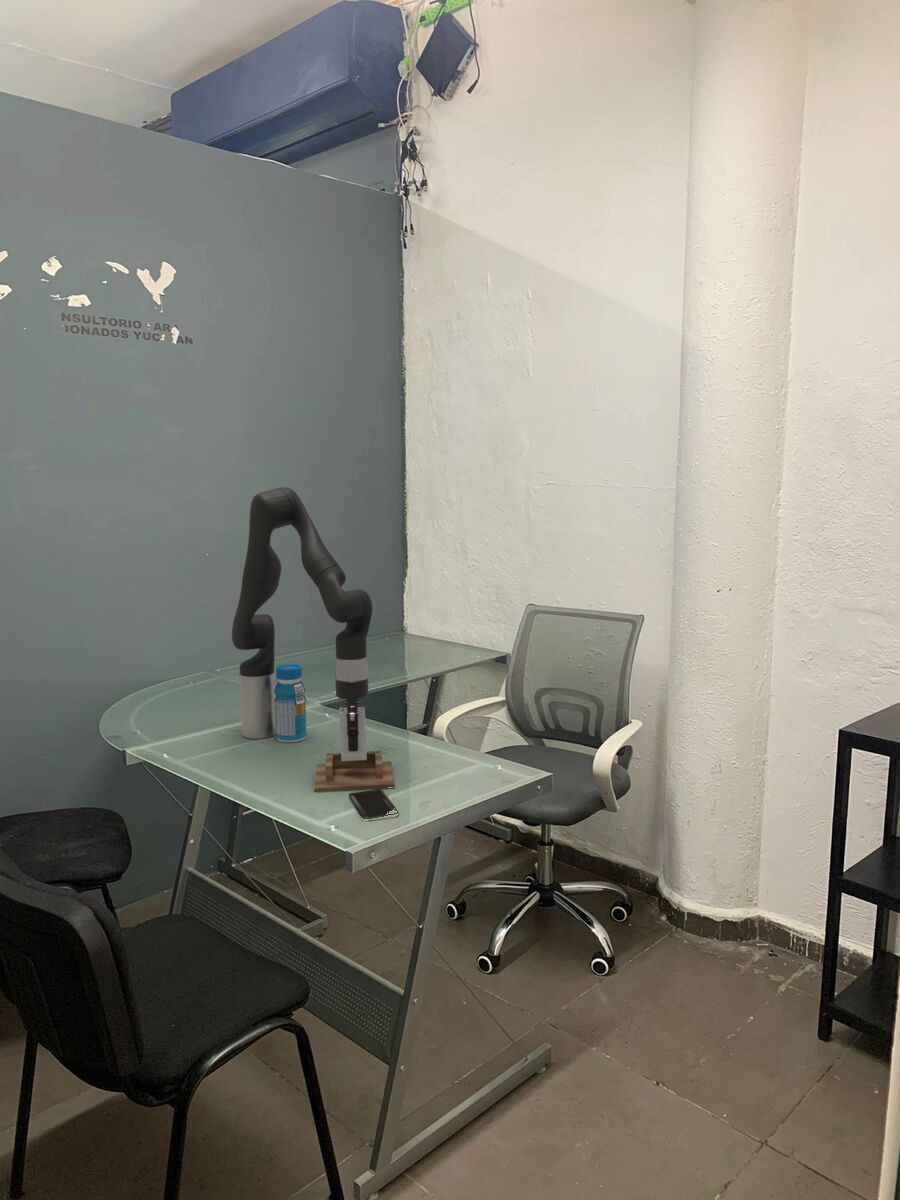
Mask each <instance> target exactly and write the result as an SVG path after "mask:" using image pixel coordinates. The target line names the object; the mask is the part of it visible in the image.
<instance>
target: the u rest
mask: <svg viewBox="0 0 900 1200" xmlns="http://www.w3.org/2000/svg"><path fill="white" fill-rule="evenodd" d="M325 759H326V760H325V763H320V764H319V763H318V764H316V772H315V778H314V787H313V788H314V789H313V791H314V793H321V792H323V793H326V792H345V791H349V792H350V791H368V790H367V789H371V790H380V789H379V788H388V787H394V788H395V781H394V779H395V778H394V771H393V764H392V761H391V760H389V761H387V760H386V761H383V757H382V750H376V751H375V750H374V751H367V760H359V761H341V752H329V753H328V752H326V758H325Z"/></svg>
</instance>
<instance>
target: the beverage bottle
mask: <svg viewBox="0 0 900 1200" xmlns="http://www.w3.org/2000/svg"><path fill="white" fill-rule="evenodd" d="M275 673H276V674H275V675H276V680H278V682H277V683H276V684H275V690H274V693H275V699H274V705H275V720H276V734H275V738H276V740H277V741H278V742H281V743H296V742H297V743H298V742H301V741H303V740H305V739H306V738H307V714H306V712H307V710H306V709H307V707H306V703H307V698H306V696H305V692H306V688H305V685H304V684H303V682H302V681H301V679H302V677H303V668H302V665H300V664H298V663H297V664H296V663H286V664H285V663H284V664H280V665H278V666H276V669H275Z"/></svg>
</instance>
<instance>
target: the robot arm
mask: <svg viewBox="0 0 900 1200" xmlns="http://www.w3.org/2000/svg"><path fill="white" fill-rule="evenodd" d="M249 510H250V511H249V525H248V526H249V528H248V529H249V531H248V542H247V549H246V557H245V562H244V566H243V573H242V579H241V586H240V587H241V588H240V592H239V593H240V594H239V599H238V604H237V606H236V607H237V608H236V611H235V614H234V618H233V621H232V628H231V641H232V644H233V646H234V647H235V648H236V649H237V650H239V651H240V650H241V651H247V650H248V651H249V650H250V651H251V650H258V651H257V652H256V653H255V655H253V656H252V657H250V658H248V659H246V660H244V661H242V662H241V663H240V664H239V682H240V683H239V686H240V687H239V688H240V704H241V705H240V708H241V709H240V710H241V729H242V733H241V735H242V736H243V738H246V739H251V740H253V739H254V740H255V739H256V740H257V739H267V738H270V737H271V738H272V737H273V736H276V720H275V705H274V699H275V697H276V695H275V693H274V690H275V687H276V680H275V640H276V639H275V638H276V636H275V635H276V633H275V632H276V631H275V623H274V619H273V618H272V616H271V615H270V614H267V613H264V614H262V613H261V614H256V612H258V611H259V610H260V609H261V607H263V605H265V604H266V603H268V601H269V599H271V598H272V597H273V596H274V594H275V593H276V592H277V590H278V588H279V583H280V579H281V574H282V563H281V560H280V557H279V556H278V555H277V553H276V551H275V550H274V548H273V547H272V545H271V537H272V533H273V531H274V530H276V529H279V528H283V527H287V526H290V525H291V526H292V527H293V528H294V530H295V532H297V534H298V536H299V539H300V559H301V563H302V565H303V569H304V570H305V573H306V574H307V575H308V576H309V577H310V580H311V581H312V582H313V583H314V584H315V586H316V587H317V589H318V591H319V594H320V596H321V599H322V602H323V605H324V607H325V610H326V612H327V614H328V616H330V618H331V619H332V620H334V621H336V622H337V623H340V624H345V623H346V626H345V628H344V629H343V630H342V631H340V632H338V633H337V634H336V637H335V664H334V673H335V677H334V678H335V679H334V681H335V697H337V698H338V699H341V700H346V702H344V703H343V707H344V713H345V724H346V725H347V734H348V749H349V751H358V734H359V731H358V725H360V713H358V712H357V711H361V707H362V703H361V702H359V699H364V698H367V696H369V665H368V660H367V637H368V634H369V629H370V625H371V620H372V616H373V615H372V614H373V602H372V599H371V596H370V595H369V593H368V592H367V591H365V590H364V589H361V588H360V589H359V588H358V589H351V590H345V591H344V590H343V588H342V586H343V585H344V584H345V582H346V579H347V578H346V577H347V576H346V574H345V572H344V569H342V568H341V566H340V564H338V562H337V561H336V559H335V558H334V557H333V555H332V554H331V553H330V552H329V550H328V548H327V547H326V545H325V544H324V542H323V540H322V538H321V536H320V534H319V533H318V530H317V528H316V527H315V524H314V522H313V520H312V518H311V517H310V516H311V515H309V512H308V511H307V508H306V507H305V505H304V503H303V502H302V499H301V498H300V496H299V495H298V494H297V492H296V491H295V490H294V489H292V488H291V487H289V486H282V487H278V488H277V487H276V488H272V489H268V490H265V491H264V490H263V491H261V492H258V493H256V494H255V495H254V496H253V498H252V500H251V503H250V508H249ZM347 711H348V713H347ZM350 727H356V730H350Z"/></svg>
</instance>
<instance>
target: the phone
mask: <svg viewBox="0 0 900 1200" xmlns="http://www.w3.org/2000/svg"><path fill="white" fill-rule="evenodd" d="M348 799H349V801H350V803H351V804H352V806H353V805H354V806H353V807H355V808H356V809H355V808H354V809H355V811H356V810H357V811H358V812H357V811H356V812H357V814H358V813H359V814H358V816H359V815H360V816H361V817H362V818H363V819H373V818H379V817H384V816H388V815H394V814H397V813H398V814H399V811H398V809H397V808H396V806H395V805H394V804H393V802H392V800H390V798H389V797H388V796H387V794H386V793H385V792H384V789H371V790H362V791H356V792H350V793H348ZM394 808H395V809H394ZM393 809H394V810H396V811H397V813H394V814H388V815H386V814H387V812H388V813H389V811H392V810H393ZM360 816H359V817H360ZM361 817H360V818H361Z"/></svg>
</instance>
